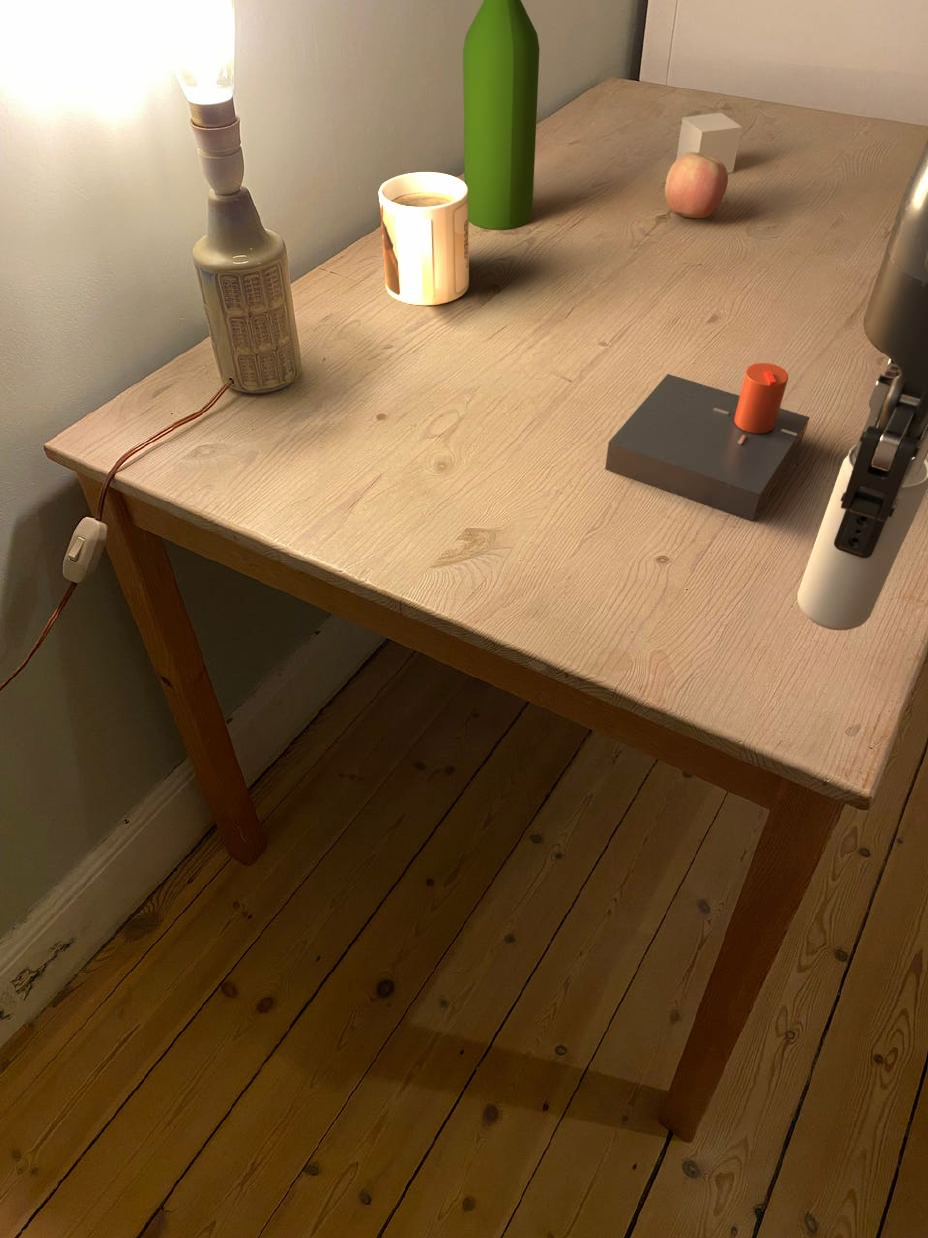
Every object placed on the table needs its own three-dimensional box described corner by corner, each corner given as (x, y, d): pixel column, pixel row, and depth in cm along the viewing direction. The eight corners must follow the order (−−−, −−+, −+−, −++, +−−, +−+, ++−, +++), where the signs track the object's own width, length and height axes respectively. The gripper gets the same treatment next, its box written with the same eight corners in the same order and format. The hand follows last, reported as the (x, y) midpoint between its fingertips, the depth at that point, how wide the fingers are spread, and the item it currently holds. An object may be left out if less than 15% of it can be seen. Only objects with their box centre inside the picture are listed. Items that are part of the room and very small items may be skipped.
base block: (802, 441, 86) (811, 413, 83) (752, 521, 78) (760, 492, 76) (664, 398, 91) (669, 370, 89) (604, 468, 83) (608, 440, 81)
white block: (694, 177, 128) (702, 131, 124) (675, 162, 132) (682, 117, 128) (733, 172, 129) (741, 126, 125) (713, 156, 133) (721, 111, 129)
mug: (490, 281, 108) (491, 184, 100) (431, 324, 101) (427, 225, 93) (418, 258, 112) (413, 164, 104) (357, 299, 105) (347, 201, 97)
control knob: (730, 411, 84) (742, 360, 80) (768, 410, 84) (782, 358, 80) (739, 434, 81) (752, 382, 78) (779, 433, 81) (794, 381, 78)
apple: (725, 231, 116) (738, 166, 110) (664, 231, 116) (674, 166, 111) (714, 205, 122) (726, 141, 116) (657, 205, 122) (666, 142, 116)
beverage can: (780, 596, 62) (827, 451, 53) (836, 575, 63) (891, 429, 54) (827, 644, 59) (886, 498, 50) (886, 620, 60) (953, 474, 51)
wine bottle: (546, 214, 120) (563, -96, 97) (501, 236, 116) (507, -82, 92) (496, 195, 125) (500, -105, 101) (450, 216, 120) (444, -93, 96)
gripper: (1032, 337, 38) (897, 620, 50) (1081, 212, 46) (955, 482, 58) (849, 293, 41) (765, 572, 53) (926, 183, 49) (838, 446, 61)
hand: (865, 523), depth 55 cm, fingers closed on beverage can, 5 cm apart
